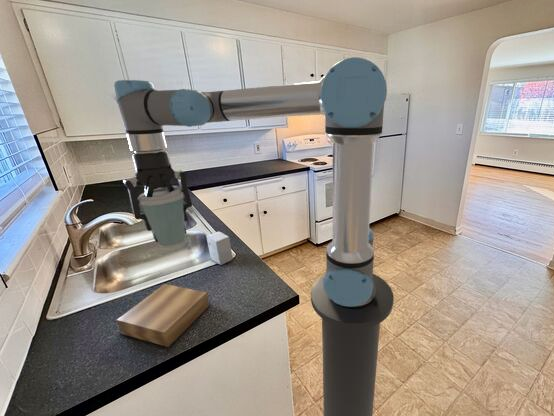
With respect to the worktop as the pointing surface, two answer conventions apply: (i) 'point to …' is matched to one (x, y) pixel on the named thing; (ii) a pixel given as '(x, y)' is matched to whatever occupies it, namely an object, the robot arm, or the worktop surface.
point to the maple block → (164, 314)
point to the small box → (219, 247)
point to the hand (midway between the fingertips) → (170, 235)
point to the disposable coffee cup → (165, 215)
